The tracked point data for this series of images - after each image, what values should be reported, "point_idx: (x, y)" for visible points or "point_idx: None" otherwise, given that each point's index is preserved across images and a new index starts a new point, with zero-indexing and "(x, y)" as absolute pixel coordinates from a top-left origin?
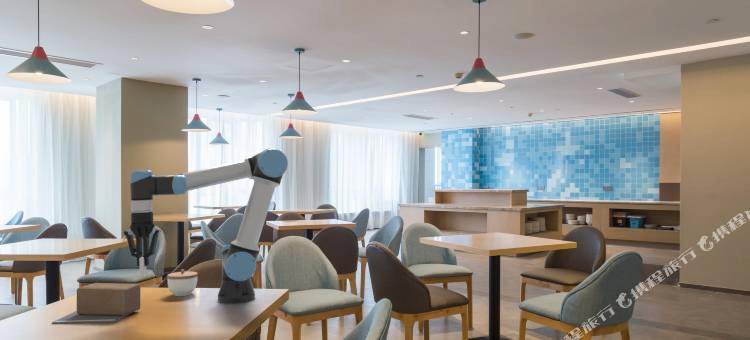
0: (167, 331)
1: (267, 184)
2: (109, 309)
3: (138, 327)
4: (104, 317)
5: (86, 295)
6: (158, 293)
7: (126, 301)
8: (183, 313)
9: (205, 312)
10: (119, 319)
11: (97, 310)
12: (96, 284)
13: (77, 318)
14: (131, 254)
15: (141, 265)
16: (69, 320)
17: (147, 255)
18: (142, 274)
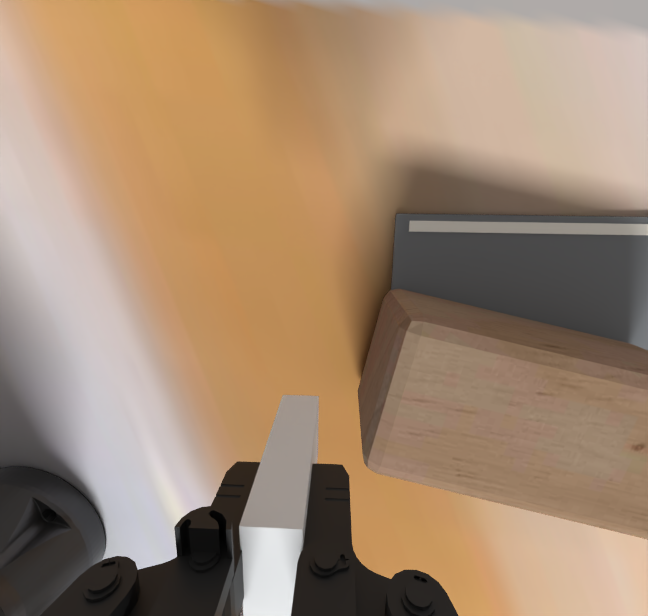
0: (96, 17)
1: None
2: (472, 307)
3: (258, 106)
4: (476, 281)
5: None
6: None
7: (391, 310)
8: (156, 331)
9: (70, 335)
10: (394, 242)
11: (533, 321)
12: None
13: (601, 278)
14: (448, 608)
15: (289, 453)
16: (628, 245)
17: (176, 580)
18: (292, 400)
